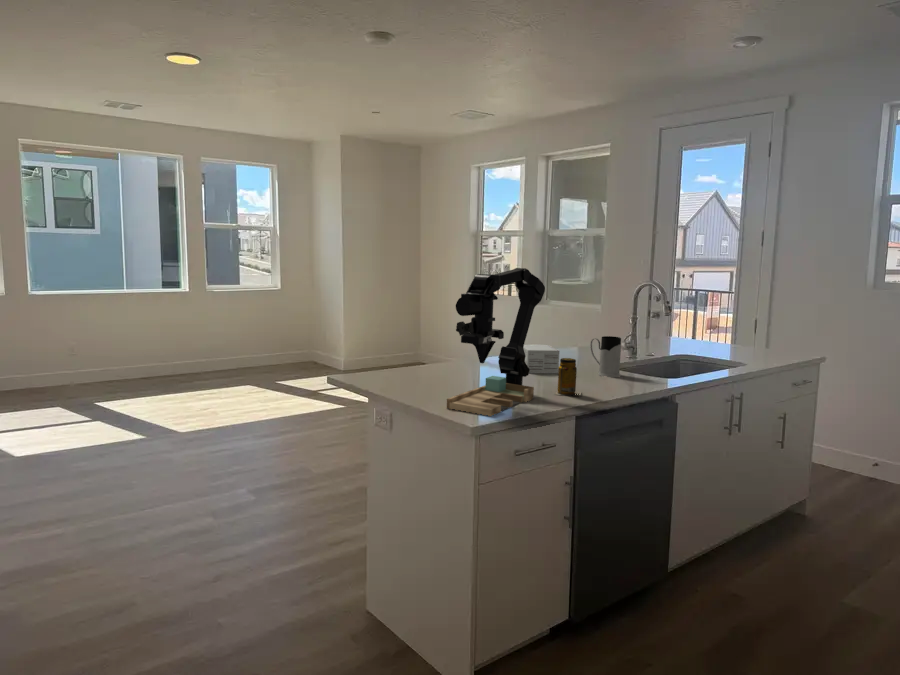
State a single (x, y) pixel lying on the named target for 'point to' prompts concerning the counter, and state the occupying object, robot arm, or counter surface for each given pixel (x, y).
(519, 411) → the counter surface
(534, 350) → the supplement box
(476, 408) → the tray
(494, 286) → the robot arm
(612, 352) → the black and white mug
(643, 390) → the counter surface
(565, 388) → the condiment
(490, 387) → the block
